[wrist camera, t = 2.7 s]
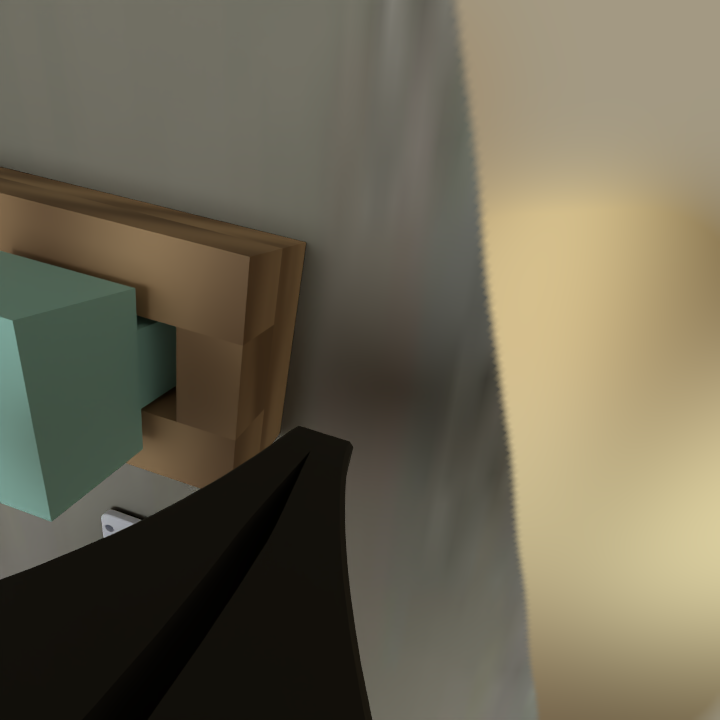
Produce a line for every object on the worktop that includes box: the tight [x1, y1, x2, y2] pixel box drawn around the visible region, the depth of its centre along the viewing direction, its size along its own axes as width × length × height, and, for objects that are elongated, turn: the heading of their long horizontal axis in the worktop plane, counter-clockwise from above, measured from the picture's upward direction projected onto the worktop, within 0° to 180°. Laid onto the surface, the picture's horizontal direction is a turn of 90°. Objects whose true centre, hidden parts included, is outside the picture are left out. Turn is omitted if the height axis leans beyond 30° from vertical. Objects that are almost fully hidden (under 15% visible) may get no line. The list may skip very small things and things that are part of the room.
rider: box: [0, 251, 176, 522], centre depth 11 cm, size 4×5×5 cm
